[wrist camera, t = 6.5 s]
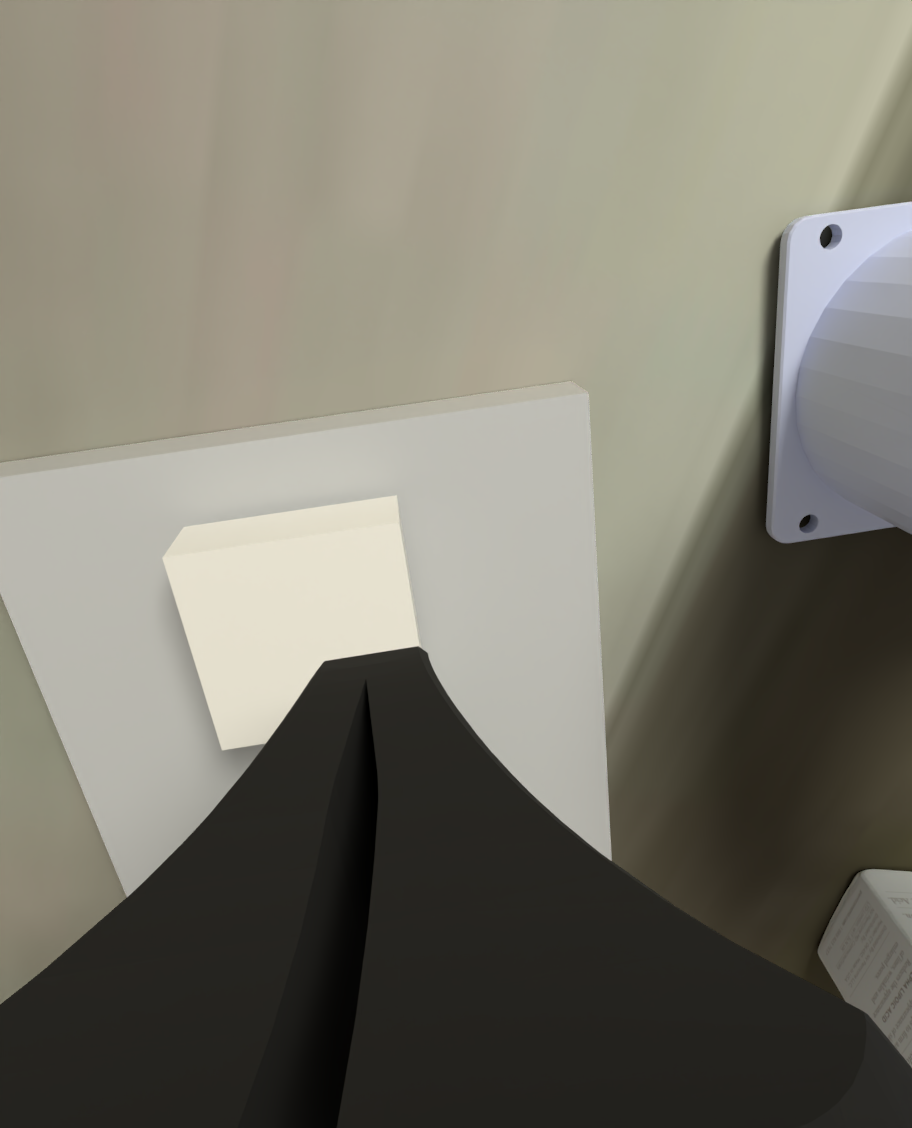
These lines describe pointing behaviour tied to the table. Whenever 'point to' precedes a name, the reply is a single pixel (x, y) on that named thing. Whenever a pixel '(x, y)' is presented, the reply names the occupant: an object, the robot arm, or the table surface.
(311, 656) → the ivory key
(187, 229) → the table surface
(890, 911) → the skincare box
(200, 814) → the keyboard base
